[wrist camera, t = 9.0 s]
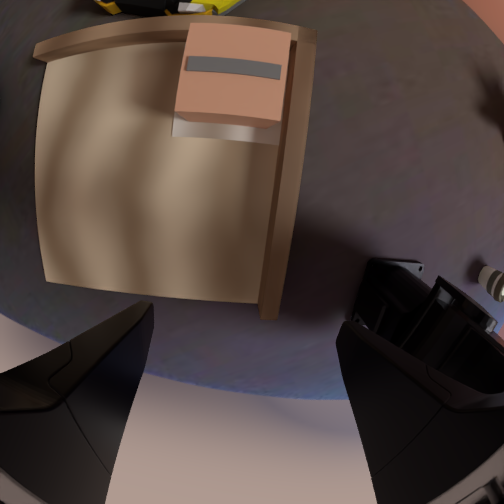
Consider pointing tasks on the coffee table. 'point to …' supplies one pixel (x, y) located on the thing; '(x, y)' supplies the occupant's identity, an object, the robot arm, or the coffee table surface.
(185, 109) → the cube
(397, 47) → the coffee table surface
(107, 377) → the robot arm
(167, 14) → the gaming controller
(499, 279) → the coffee cup
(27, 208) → the coffee table surface
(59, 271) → the arena
